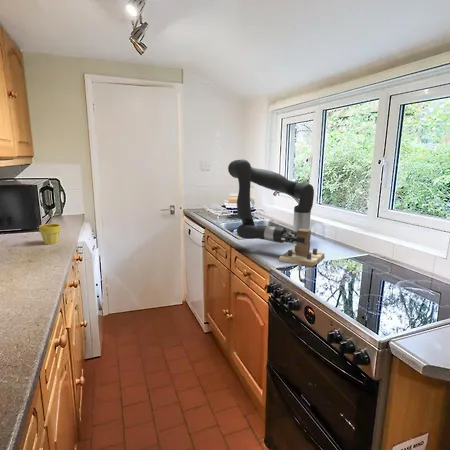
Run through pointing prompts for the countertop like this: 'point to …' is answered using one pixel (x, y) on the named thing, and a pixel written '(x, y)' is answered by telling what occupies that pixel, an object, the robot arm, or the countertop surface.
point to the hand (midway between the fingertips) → (307, 238)
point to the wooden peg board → (310, 260)
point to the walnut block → (303, 247)
